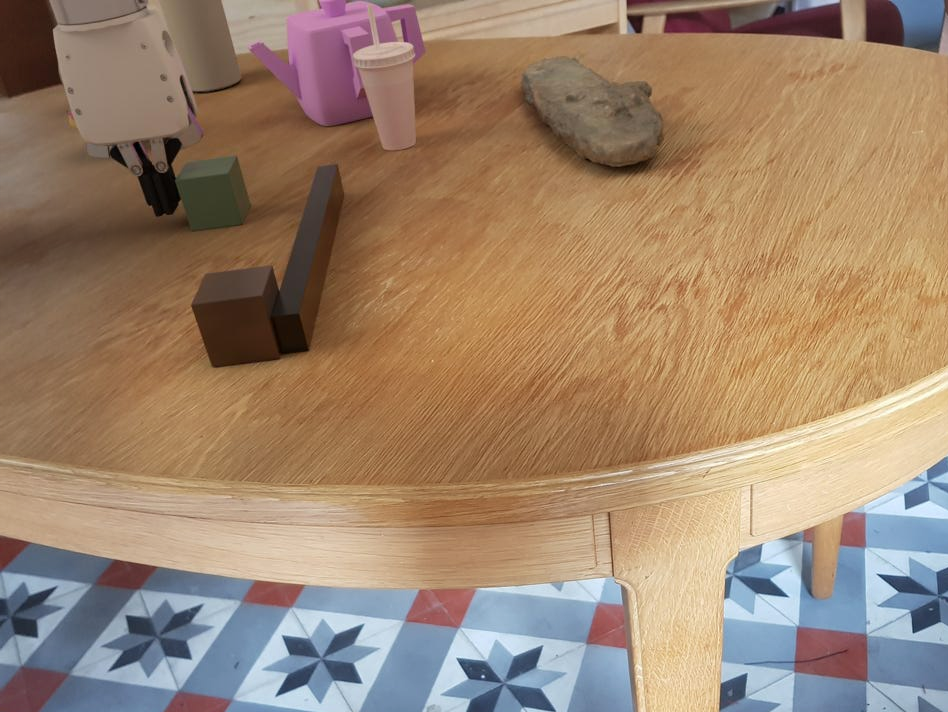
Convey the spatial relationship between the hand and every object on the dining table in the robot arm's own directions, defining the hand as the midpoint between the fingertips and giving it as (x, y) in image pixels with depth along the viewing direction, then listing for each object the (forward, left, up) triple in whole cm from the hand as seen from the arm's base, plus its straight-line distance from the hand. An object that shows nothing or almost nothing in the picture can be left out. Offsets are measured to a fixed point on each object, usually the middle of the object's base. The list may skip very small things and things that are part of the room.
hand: (167, 210), depth 91 cm
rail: (+16, -13, -1) cm, 21 cm away
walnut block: (+12, -27, -1) cm, 30 cm away
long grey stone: (+42, +14, -2) cm, 44 cm away
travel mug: (-6, +53, -2) cm, 53 cm away
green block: (+5, 0, -2) cm, 5 cm away
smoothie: (+22, +15, -2) cm, 26 cm away
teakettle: (+15, +33, -2) cm, 36 cm away
